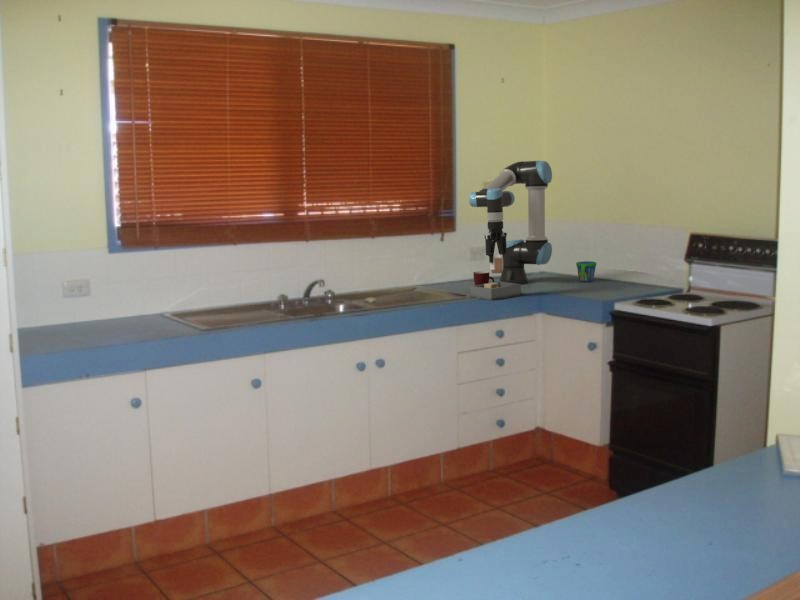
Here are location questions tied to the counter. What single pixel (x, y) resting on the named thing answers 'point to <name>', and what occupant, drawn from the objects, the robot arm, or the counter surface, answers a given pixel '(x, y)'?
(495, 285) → the wood cube
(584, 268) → the snack cup
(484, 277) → the mug
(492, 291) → the tote
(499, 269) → the terracotta cylinder
